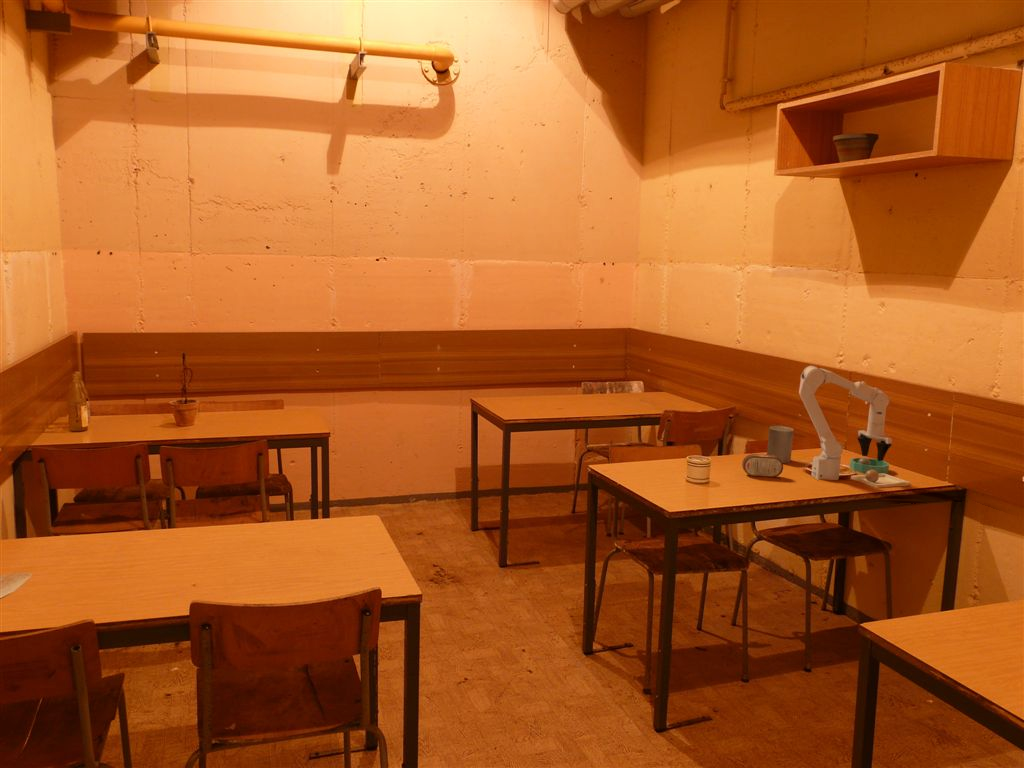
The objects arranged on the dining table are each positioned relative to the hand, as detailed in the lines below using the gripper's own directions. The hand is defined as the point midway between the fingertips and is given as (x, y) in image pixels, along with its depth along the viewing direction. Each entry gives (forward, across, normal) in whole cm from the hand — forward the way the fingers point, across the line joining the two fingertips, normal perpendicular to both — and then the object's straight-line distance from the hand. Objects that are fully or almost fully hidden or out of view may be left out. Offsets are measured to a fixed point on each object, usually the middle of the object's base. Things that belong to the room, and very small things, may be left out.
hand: (872, 458), depth 310 cm
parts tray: (+9, -2, -3) cm, 10 cm away
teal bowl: (+9, +13, -12) cm, 20 cm away
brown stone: (+9, -2, +2) cm, 9 cm away
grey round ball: (+8, +13, -10) cm, 18 cm away
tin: (+10, +18, +36) cm, 41 cm away
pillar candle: (+10, +37, +12) cm, 40 cm away
